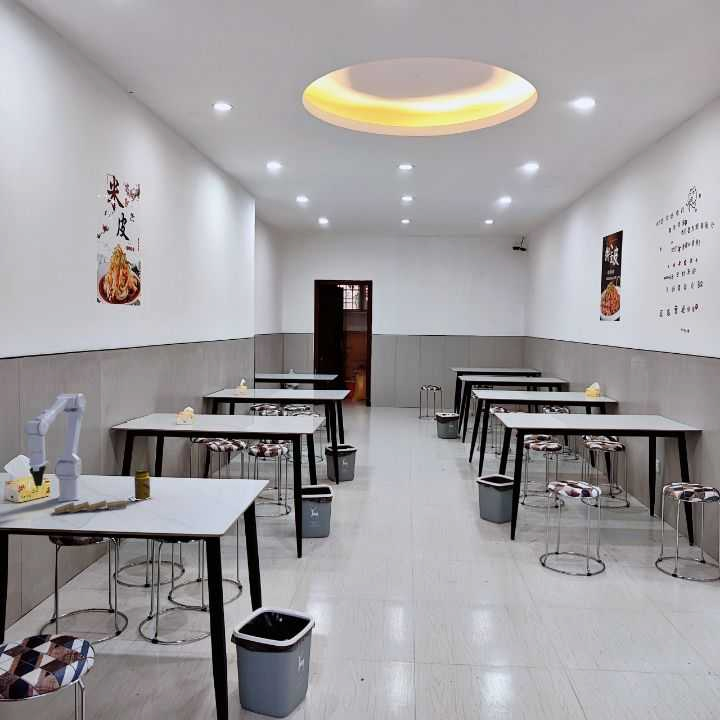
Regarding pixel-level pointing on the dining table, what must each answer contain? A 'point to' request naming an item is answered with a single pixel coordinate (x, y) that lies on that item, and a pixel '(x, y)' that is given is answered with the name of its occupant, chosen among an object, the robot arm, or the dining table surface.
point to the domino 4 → (116, 504)
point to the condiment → (142, 484)
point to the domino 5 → (119, 507)
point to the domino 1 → (64, 508)
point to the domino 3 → (97, 505)
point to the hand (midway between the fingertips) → (38, 485)
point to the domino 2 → (80, 507)
